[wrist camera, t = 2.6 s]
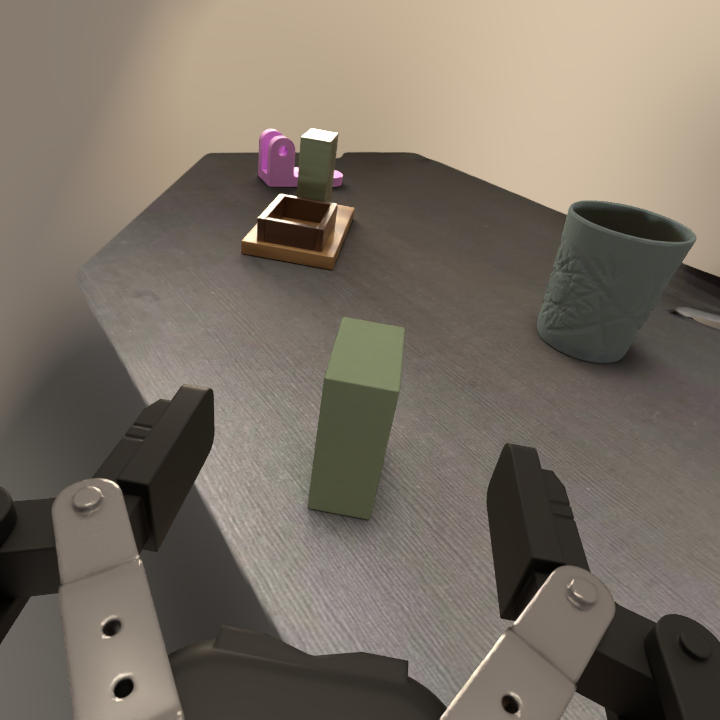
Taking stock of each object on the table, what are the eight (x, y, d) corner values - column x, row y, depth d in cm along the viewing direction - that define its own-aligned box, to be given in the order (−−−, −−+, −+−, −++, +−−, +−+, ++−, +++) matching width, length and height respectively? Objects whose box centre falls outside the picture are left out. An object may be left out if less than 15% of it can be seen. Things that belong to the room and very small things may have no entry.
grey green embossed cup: (641, 341, 51) (703, 226, 44) (620, 383, 44) (689, 252, 37) (545, 303, 55) (587, 193, 49) (510, 336, 48) (555, 211, 41)
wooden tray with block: (332, 270, 55) (344, 169, 49) (241, 253, 55) (242, 151, 49) (353, 218, 70) (364, 136, 64) (281, 205, 70) (286, 123, 64)
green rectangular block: (369, 520, 28) (399, 391, 23) (307, 508, 28) (323, 378, 23) (378, 446, 33) (405, 327, 28) (325, 436, 33) (342, 316, 28)
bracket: (269, 186, 76) (271, 137, 72) (258, 175, 80) (259, 128, 76) (347, 187, 82) (353, 141, 78) (333, 176, 86) (338, 132, 82)
